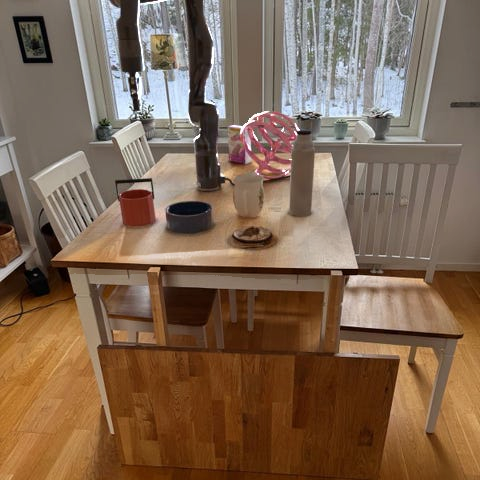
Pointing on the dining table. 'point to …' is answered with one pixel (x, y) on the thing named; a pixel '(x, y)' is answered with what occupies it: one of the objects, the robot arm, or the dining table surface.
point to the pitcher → (248, 194)
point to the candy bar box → (238, 145)
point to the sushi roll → (254, 237)
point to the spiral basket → (270, 141)
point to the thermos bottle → (302, 174)
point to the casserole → (189, 217)
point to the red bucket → (136, 204)
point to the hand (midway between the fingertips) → (137, 108)
